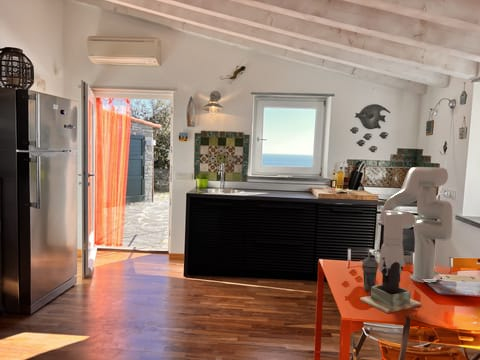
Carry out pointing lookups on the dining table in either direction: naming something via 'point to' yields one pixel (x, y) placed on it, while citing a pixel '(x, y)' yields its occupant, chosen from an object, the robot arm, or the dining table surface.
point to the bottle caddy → (390, 299)
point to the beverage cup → (369, 272)
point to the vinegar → (392, 279)
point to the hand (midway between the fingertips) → (391, 282)
